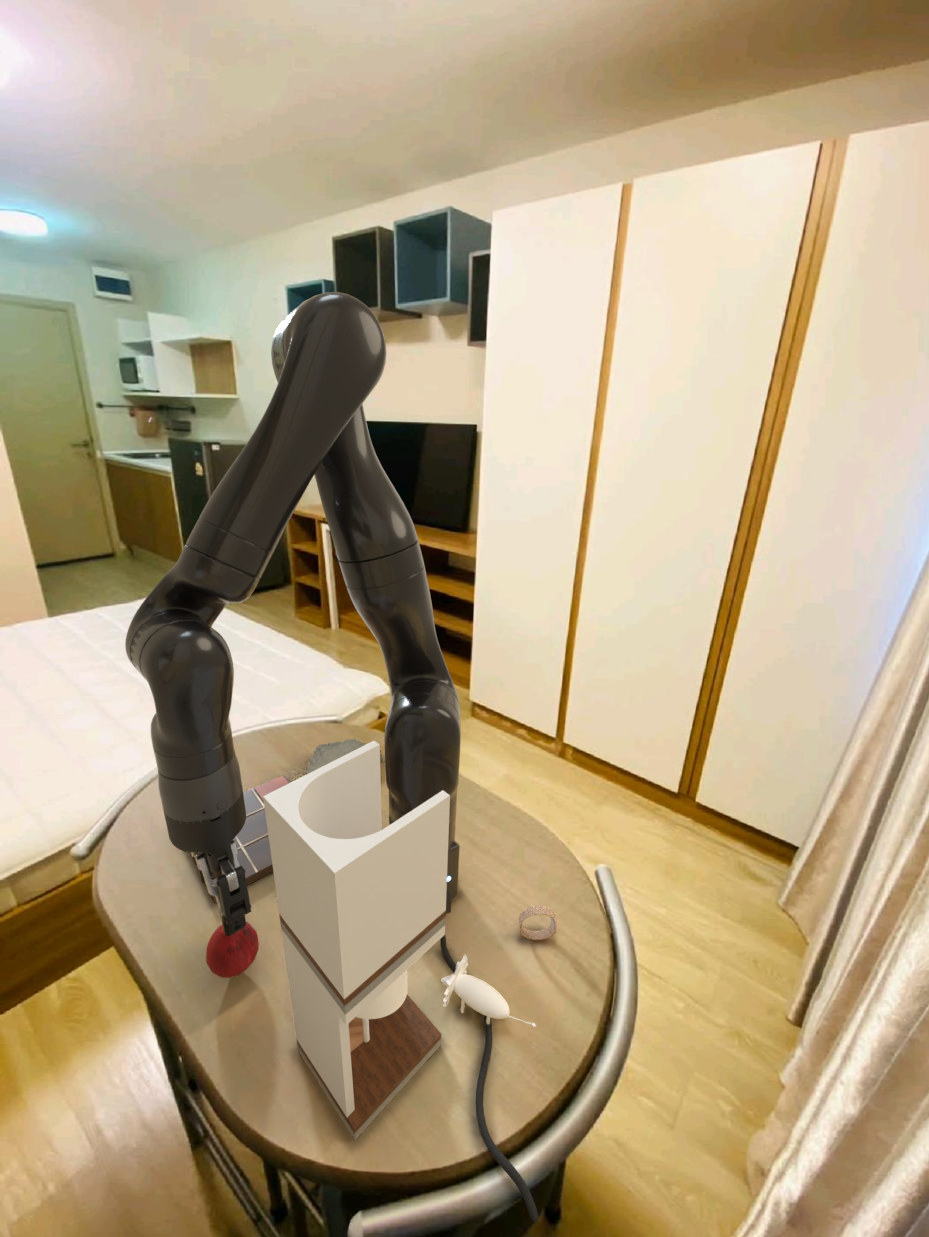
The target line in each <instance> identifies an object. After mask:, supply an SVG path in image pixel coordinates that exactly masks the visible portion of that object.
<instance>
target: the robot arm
mask: <svg viewBox="0 0 929 1237" xmlns="http://www.w3.org/2000/svg"><path fill="white" fill-rule="evenodd" d="M386 342H387V341H386V338H385V333H384V331H383V328H382V326H381V323H380V321H379V320H378V318H377V316H376V315H375V314H374V312H373V311H372V310H371V309H370V308H369V306H368V305H366V304H365V303H364V302H363V301H362V300H360V299H358V298H356V297H355V296H352V295H350V294H348V293H344V292H340V291H332V292H331V291H328V292H323V293H320V294H316V295H314V296H311V297H310V298H308V299H306V300H304V301H302V303H300V304H299V305H298V306H297V307H295V308H294V309H293V310H292V311H291V312H290V313H289V314H287V316H286V317H285V318H284V319H283V320H282V321H281V322H280V324H278V326H277V328H276V330H275V331H274V334H273V337H272V341H271V349H270V358H271V365H272V370H273V373H274V377H275V379H276V381H277V384H276V387H275V390H274V392H273V394H272V397H271V399H270V401H269V403H268V405H267V407H266V409H265V411H264V413H263V415H262V417H261V419H260V420H259V423H258V424H257V426H256V428H255V429H254V431H253V433H251V436H250V437H249V439H248V441H247V442H246V444H245V445H244V447H243V448H242V450H241V451H240V452H239V454H238V456H237V457H236V459H235V460H234V461H233V462H232V464H231V466H229V468H228V469H227V471H226V473H225V474H224V475H223V477H222V478H221V479H220V481H219V482H218V484H217V486H216V488H215V489H214V490H213V492H212V494H211V495H210V496H209V498H208V500H207V502H206V503H205V505H204V506H203V507H204V508H202V511H201V513H200V515H199V517H198V519H197V521H196V522H195V524H194V526H193V528H192V530H191V532H190V534H189V536H188V538H187V540H186V541H185V545H184V546H183V548H182V550H181V552H180V555H179V557H178V559H177V561H176V562H175V563H174V564H173V565H172V567H170V569H169V570H168V571H167V572H166V573H165V575H163V577H161V578H160V580H159V581H158V583H157V584H156V585H155V586H154V587H153V589H152V590H151V591H150V593H149V594H148V595H147V596H146V597H145V599H144V600H143V601H142V603H141V604H140V606H139V607H138V609H137V610H136V612H135V613H134V615H133V617H132V618H131V621H130V624H129V626H128V629H127V632H126V636H125V641H124V647H125V653H126V656H127V658H128V660H129V662H130V663H131V665H132V666H133V667H134V668H135V669H136V671H137V672H138V673H139V675H140V676H142V677H143V678H144V680H145V681H146V682H147V684H148V687H149V688H150V692H151V694H152V698H153V703H154V708H155V713H154V715H153V716H152V719H151V723H150V739H151V744H152V750H153V755H154V760H155V764H156V769H157V782H158V783H157V784H158V792H159V796H160V801H161V806H162V810H163V814H164V819H165V824H166V829H167V834H168V838H169V840H170V844H172V845H173V847H174V848H176V849H177V850H179V851H182V852H184V853H185V852H186V853H190V854H191V857H192V858H193V857H195V859H196V862H195V864H196V863H197V864H196V866H197V869H198V874H199V879H200V881H201V883H202V884H205V886H206V889H207V890H206V891H207V893H208V894H209V895H210V896H211V897H212V896H215V897H216V901H217V902H216V904H217V907H218V909H217V912H218V914H219V915H220V919H221V925H223V930H224V933H225V935H226V936H231V935H233V934H234V933H236V932H238V931H240V930H241V929H243V928H244V927H245V926H246V922H247V919H246V915H248V914H249V913H251V912H252V904H251V901H250V895H249V890H248V885H247V883H246V877H245V869H244V868H243V867H242V866H240V864H239V861H238V858H237V854H238V849H237V846H236V843H235V840H234V838H235V837H236V836H237V834H238V833H239V832H240V831H241V829H242V828H243V826H244V824H245V821H246V809H245V802H244V795H243V792H244V788H243V782H242V774H241V768H240V763H239V760H238V756H237V754H236V749H235V745H234V739H233V732H232V730H233V729H232V724H231V719H230V713H231V708H232V703H233V695H234V694H233V693H234V681H235V668H234V663H233V661H234V660H233V657H232V653H231V650H230V647H229V645H228V643H227V641H226V640H225V637H223V635H222V634H221V633H220V632H219V631H217V630H216V629H214V628H213V625H214V623H215V622H216V620H217V619H218V617H219V616H220V615H221V613H222V612H223V611H224V609H225V608H226V607H227V605H228V604H241V603H243V602H246V601H247V600H248V599H250V597H251V596H252V594H253V593H254V591H255V589H256V588H257V586H258V584H259V582H260V580H261V579H262V576H263V575H264V572H265V571H266V568H267V567H268V565H269V563H270V561H271V559H272V557H273V554H274V553H275V551H276V549H277V546H278V545H279V542H280V541H281V538H282V536H283V534H284V533H285V530H286V528H287V526H288V525H289V523H290V520H291V518H292V516H293V514H295V511H296V508H297V506H298V505H299V503H300V501H301V499H302V498H303V495H304V494H305V492H306V490H307V488H308V486H309V485H310V483H311V481H312V479H313V478H314V479H315V482H316V487H317V491H318V494H319V498H320V501H321V507H322V509H323V512H324V516H325V519H326V522H327V526H328V529H329V532H330V535H331V539H332V543H333V548H334V550H335V555H336V558H337V562H338V564H339V568H340V572H341V574H342V578H343V581H344V583H345V587H346V590H347V593H348V595H349V597H350V600H351V602H352V604H353V606H354V608H355V610H356V611H357V614H358V615H359V617H360V618H361V620H362V621H363V623H364V624H365V625H366V627H367V628H368V630H369V631H370V632H371V634H372V635H373V637H374V638H375V640H376V642H377V644H378V646H379V648H380V651H381V653H382V657H383V660H384V665H385V668H386V673H387V677H388V684H389V690H390V705H389V708H388V713H387V719H386V722H385V728H384V766H385V768H384V769H385V784H386V788H387V789H388V826H389V825H391V824H392V823H394V822H395V821H397V820H398V819H400V818H401V817H403V816H404V815H406V814H407V813H409V812H410V811H412V810H413V809H415V808H416V807H418V806H419V805H421V804H423V803H424V802H426V801H427V800H429V799H430V798H432V797H433V796H435V795H436V794H438V793H439V792H441V791H442V790H443V791H445V792H446V793H447V794H449V795H450V809H449V837H448V864H447V891H446V915H447V914H451V913H452V899H453V898H454V897H457V895H458V889H459V868H460V866H459V865H460V850H461V848H460V844H459V843H458V842H456V824H457V823H456V822H457V804H458V789H459V788H458V787H459V780H460V779H459V778H460V761H461V759H460V758H461V744H462V743H461V740H462V737H461V735H462V734H461V732H462V729H461V703H460V702H461V701H460V697H459V694H458V692H457V689H456V686H455V684H454V682H453V679H452V676H451V674H450V671H449V669H448V666H447V663H446V661H445V657H444V655H443V652H442V650H441V646H440V643H439V640H438V636H437V631H436V627H435V626H436V625H435V617H434V610H433V603H432V598H431V591H430V586H429V581H428V577H427V571H426V566H425V561H424V557H423V554H422V549H421V546H420V541H419V538H418V533H417V530H416V527H415V524H414V522H413V519H412V517H411V515H410V513H409V510H408V509H407V507H406V505H405V503H404V501H403V499H402V498H401V496H400V494H399V493H398V491H397V490H396V488H395V486H394V484H393V483H392V481H391V480H390V478H389V476H388V474H387V473H386V471H385V470H384V468H383V466H382V464H381V461H380V460H379V457H378V456H377V453H376V450H375V448H374V445H373V442H372V439H371V434H370V432H369V428H368V423H367V419H366V414H365V410H364V403H365V401H366V400H367V398H368V397H369V396H370V394H371V393H372V392H373V390H374V389H375V388H376V386H377V385H378V384H379V382H380V381H381V378H382V377H383V374H384V371H385V367H386V362H387V343H386ZM232 866H233V867H232ZM214 879H217V882H216V884H217V885H213V882H212V880H214ZM439 941H440V949H441V952H442V955H443V958H444V960H445V961H446V963H447V965H448V966H449V968H450V970H451V971H452V972H453V974H454V973H455V970H456V965H457V963H455V961H454V959H453V958H452V956H451V954H450V951H449V950H448V944H447V935H446V934H445V935H444V936H443V937H442V938H441V939H440V940H439ZM481 1015H482V1017H483V1023H484V1031H485V1037H484V1038H485V1039H484V1048H483V1053H482V1058H481V1062H480V1067H479V1072H478V1076H477V1083H476V1089H475V1115H476V1121H477V1126H478V1130H479V1133H480V1136H481V1139H482V1141H483V1144H484V1145H485V1147H486V1148H487V1150H488V1152H489V1154H490V1155H491V1156H492V1157H493V1159H494V1160H495V1162H497V1164H498V1165H499V1166H500V1167H501V1168H502V1170H503V1171H504V1172H505V1173H506V1175H508V1177H509V1178H510V1179H511V1180H512V1182H513V1183H514V1184H515V1186H516V1188H517V1189H518V1191H519V1193H520V1195H521V1196H522V1198H523V1201H524V1203H525V1206H526V1209H527V1212H528V1215H529V1218H530V1219H531V1220H532V1222H535V1223H536V1222H538V1220H539V1213H538V1209H537V1206H536V1203H535V1200H534V1197H533V1195H532V1193H531V1191H530V1189H529V1186H528V1185H527V1182H525V1179H524V1178H523V1176H522V1175H521V1173H519V1171H518V1170H517V1168H515V1166H514V1165H513V1164H512V1163H511V1161H510V1160H509V1159H507V1157H506V1156H505V1155H504V1154H503V1152H502V1151H501V1150H500V1149H499V1148H498V1146H497V1145H496V1143H495V1142H494V1139H493V1138H492V1136H491V1134H490V1132H489V1129H488V1126H487V1122H486V1117H485V1110H484V1092H485V1084H486V1079H487V1073H488V1068H489V1064H490V1059H491V1055H492V1054H491V1053H492V1047H493V1024H492V1020H491V1019H492V1018H490V1024H489V1025H487V1024H486V1020H487V1016H485V1015H483V1014H481Z"/></svg>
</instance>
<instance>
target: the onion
mask: <svg viewBox="0 0 929 1237" xmlns="http://www.w3.org/2000/svg"><path fill="white" fill-rule="evenodd" d="M259 947H260V942H259V935H258V932H257V930H256V929H255V928H254V927H253V926H252V924H251V923H250V922H248V921H246V926H245V927H244V928H243V929H241V930H240V931H238V932H236V933H234V934H233V935H231V936H226V935H225V933H224V930H223V925H222V924H221V925H219V926H217V928H216V929H215V930H214V932H213V933H212V934H211V935H210V937H209V940H208V942H207V944H206V952H205V962H206V964H207V967H208V968H209V970H210V971H211V973H212V974H213V975H216V976H217V977H219V978H225V979H231V978H234V977H237V976H239V975H241V974H242V973H244V972H245V971H247V970H248V969H249V968H250V967H251V966H252V964H253V963H254V961H255V959H256V957H257V955H258V952H259Z"/></svg>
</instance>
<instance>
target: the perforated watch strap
mask: <svg viewBox="0 0 929 1237" xmlns="http://www.w3.org/2000/svg"><path fill="white" fill-rule="evenodd" d="M537 915H541V916H542V915H543V916H547V917H550V925H549V926H548V927H546V928H545V929H542V930H533V929H532V930H531V929H527V928H525V927H524V925H523V922H524V921H525V920H527V919H528V918H530V917H533V916H537ZM556 917H557V916H556V913H555V911H554V909H551V908H550V907H548V906H545V905H532V906H528V907H527V908H525V909H523V910H522V911H521V912H520V914H519V916H518V928H519V932H520V934H521V935H522V936H523V937H524V938H526V939H528V940H531V941H532V940H533V941H542V940H546V939H548V938H550V937H554V935H556V934H557V918H556Z"/></svg>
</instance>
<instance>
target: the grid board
mask: <svg viewBox="0 0 929 1237" xmlns="http://www.w3.org/2000/svg"><path fill="white" fill-rule="evenodd" d="M289 783H291V781H290V780H289V779H288V778H287V776H285V775H284V774H283V775H281V776H278V777H276V778H273V779H270V780H269V781H267V782H264V783H261V784H260V785H257V786H255V787H250V788H249V789H248V790H245V791H243V795H244V802H245V809H246V821H245V824H244V826H243V828H242V829H241V831H240V832H239V833H238V834H237V836H236V837H235V838H234V840H235V843H236V846H237V849H238V854H237V858H238V861H239V864H240V866H242V867H243V868H244V869H245V877H246V883H247V886H249V885H251V884H253V883H255V882H257V881H258V880H260V879H262V878H264V877H266V876H268V875H269V874H271V873H274V872H273V865H272V858H271V850H270V843H269V836H268V829H267V821H266V814H265V807H264V799H263V796H265V795H267V794H269V793H271V792H273V791H275V790H277V789H279V788H281V787H283V786H285V785H287V784H289ZM192 858H193V860H194V863H195V864H196V865H197V863H196V859H195V857H192ZM232 867H233V866H232ZM212 882H213V885H217V884H216V882H217V879H214V880H212ZM211 897H212V899H213V901H214V903H217V901H216V897H215V896H212V895H211Z"/></svg>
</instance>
